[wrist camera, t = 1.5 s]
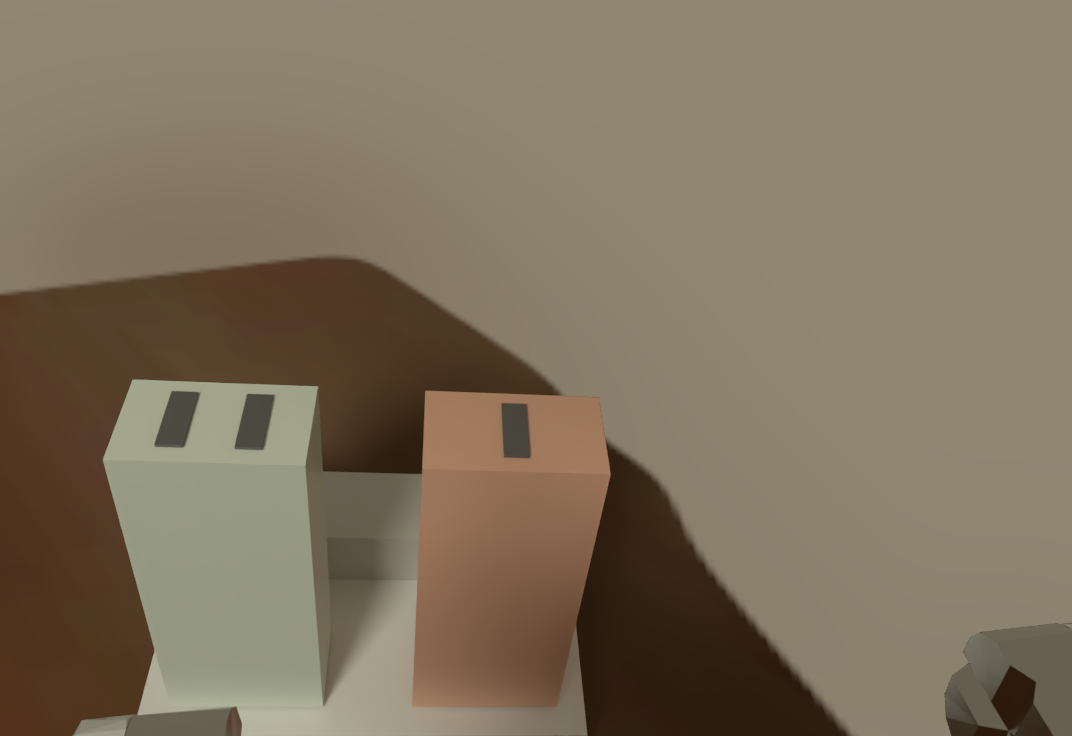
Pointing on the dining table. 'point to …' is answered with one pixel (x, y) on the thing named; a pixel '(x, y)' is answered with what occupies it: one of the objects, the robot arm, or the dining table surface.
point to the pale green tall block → (227, 538)
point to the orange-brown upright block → (504, 544)
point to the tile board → (382, 634)
